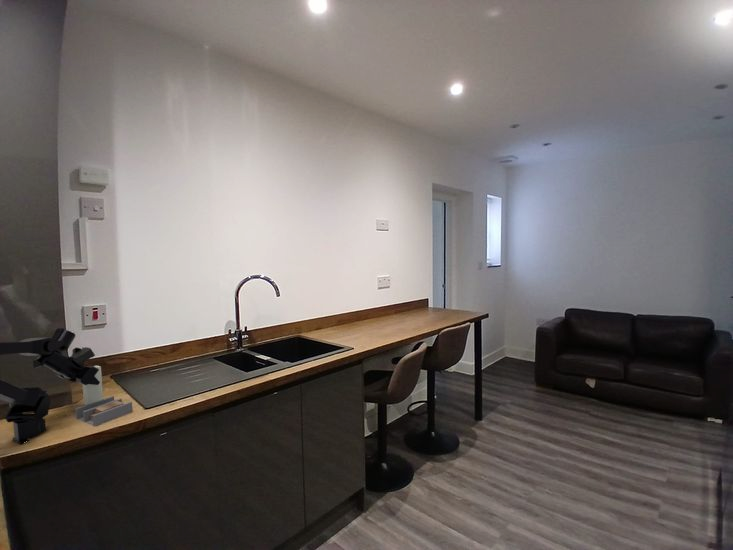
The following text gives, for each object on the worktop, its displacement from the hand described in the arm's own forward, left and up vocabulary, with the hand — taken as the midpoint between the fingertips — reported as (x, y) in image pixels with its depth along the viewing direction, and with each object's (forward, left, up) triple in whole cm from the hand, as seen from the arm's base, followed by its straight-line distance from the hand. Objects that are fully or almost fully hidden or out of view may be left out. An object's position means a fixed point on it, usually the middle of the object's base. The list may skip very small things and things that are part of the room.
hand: (96, 382), depth 138 cm
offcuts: (-4, -15, -8) cm, 17 cm away
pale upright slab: (-2, 0, -7) cm, 7 cm away
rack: (-4, -12, -9) cm, 15 cm away
